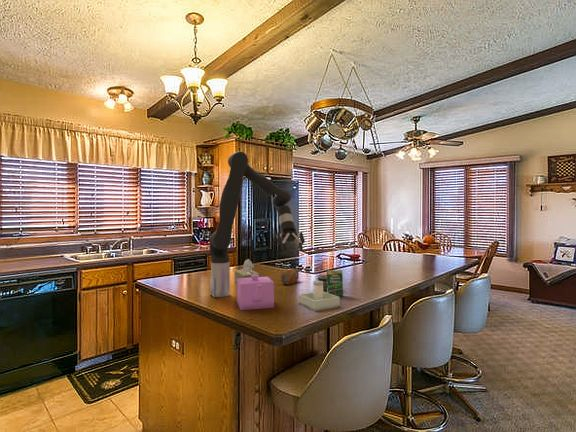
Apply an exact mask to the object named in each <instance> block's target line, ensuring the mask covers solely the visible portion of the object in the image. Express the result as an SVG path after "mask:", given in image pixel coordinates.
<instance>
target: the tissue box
mask: <svg viewBox="0 0 576 432" xmlns="http://www.w3.org/2000/svg"><path fill="white" fill-rule="evenodd" d="M254 267H255V265H254V264H253V262H252V261H251V260H250V259H249V258H247V259H245V261H244V262H243V265H242V269H235V270H234V284H235V285H237V278H251V275H259V277H261V274H260V273H259V272H257V271H255V270H253V268H254Z"/></svg>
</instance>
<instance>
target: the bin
mask: <svg viewBox="0 0 576 432" xmlns="http://www.w3.org/2000/svg"><path fill="white" fill-rule="evenodd" d="M297 298H298V299H297V301H298V305H300V306H302V307H304V308H306V309H308V310H310V311H313V312H318V311H320V312H321V311H323V310H324V311H325V310H330V309H335V308H339V307H341V306H340V304H341V303H340V302H341V301H340V299H341V296H340V297H339V296H335V295H332V294H329V293H327V292H324V291H323V299H321V300H313V291H311V292H306V293H299V294H298V297H297Z"/></svg>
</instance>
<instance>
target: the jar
mask: <svg viewBox="0 0 576 432" xmlns="http://www.w3.org/2000/svg"><path fill="white" fill-rule="evenodd" d="M317 281H323V291H324V292H326V293H327V274H326V275H325V274H324V275H323V274H322V275H319V276H318V277H317Z"/></svg>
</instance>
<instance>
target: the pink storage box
mask: <svg viewBox="0 0 576 432" xmlns="http://www.w3.org/2000/svg"><path fill="white" fill-rule="evenodd" d="M236 303H237V305H238V308H239V310H240V311H247V310H248V311H250V310H260V309H271V308H272V309H274V308H275V282H274V281H273V280H272V279H271V278H270V277H269V276H260V277H259V275H251V278H237V284H236Z"/></svg>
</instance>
